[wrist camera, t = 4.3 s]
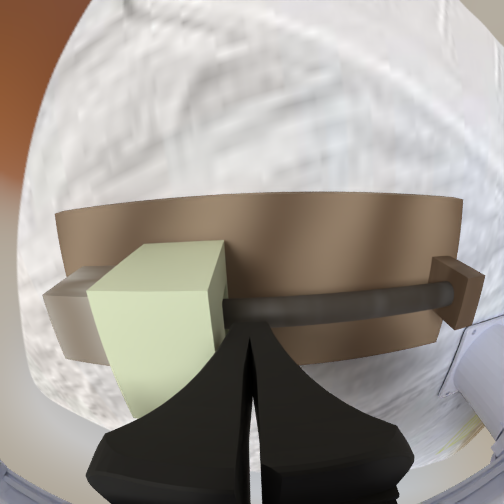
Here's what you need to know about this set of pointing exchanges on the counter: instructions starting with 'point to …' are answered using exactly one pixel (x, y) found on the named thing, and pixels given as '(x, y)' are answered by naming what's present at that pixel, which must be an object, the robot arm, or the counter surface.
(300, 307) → the cord board
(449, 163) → the counter surface
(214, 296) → the sleeve
